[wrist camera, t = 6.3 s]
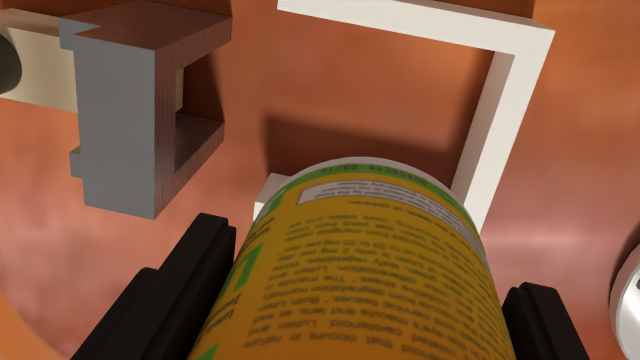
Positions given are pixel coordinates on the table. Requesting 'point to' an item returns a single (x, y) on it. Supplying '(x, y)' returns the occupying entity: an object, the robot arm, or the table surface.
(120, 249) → the table surface
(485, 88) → the frame
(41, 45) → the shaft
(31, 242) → the table surface
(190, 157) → the guide block
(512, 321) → the robot arm
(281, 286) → the supplement bottle
